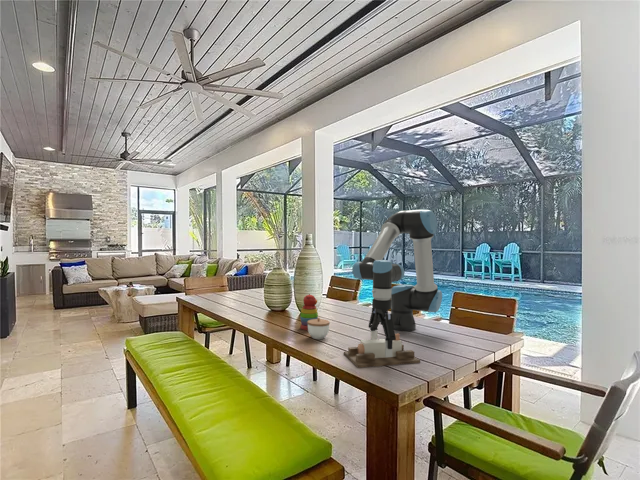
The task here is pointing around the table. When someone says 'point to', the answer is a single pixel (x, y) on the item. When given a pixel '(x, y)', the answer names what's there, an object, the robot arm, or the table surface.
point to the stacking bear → (308, 311)
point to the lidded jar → (318, 328)
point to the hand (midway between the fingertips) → (380, 351)
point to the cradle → (371, 361)
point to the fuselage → (379, 346)
